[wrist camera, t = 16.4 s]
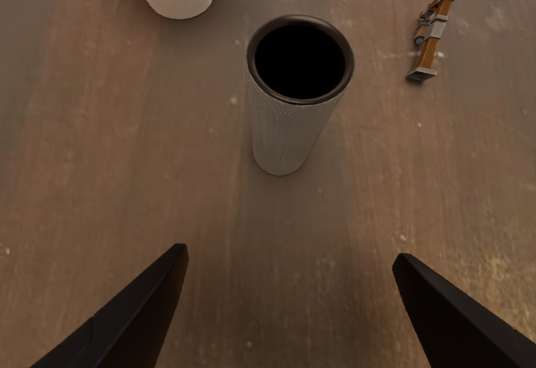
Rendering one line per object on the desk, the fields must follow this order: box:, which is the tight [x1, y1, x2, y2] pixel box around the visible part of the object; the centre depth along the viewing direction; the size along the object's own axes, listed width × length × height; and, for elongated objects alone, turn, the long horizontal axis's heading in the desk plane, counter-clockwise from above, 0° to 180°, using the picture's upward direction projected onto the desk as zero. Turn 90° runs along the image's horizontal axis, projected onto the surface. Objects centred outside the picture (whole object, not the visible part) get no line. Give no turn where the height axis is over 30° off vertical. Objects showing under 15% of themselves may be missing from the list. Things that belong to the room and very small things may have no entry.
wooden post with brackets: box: [406, 0, 454, 81], centre depth 21 cm, size 2×8×4 cm, turn 167°
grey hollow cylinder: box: [246, 14, 355, 176], centre depth 14 cm, size 4×4×10 cm
